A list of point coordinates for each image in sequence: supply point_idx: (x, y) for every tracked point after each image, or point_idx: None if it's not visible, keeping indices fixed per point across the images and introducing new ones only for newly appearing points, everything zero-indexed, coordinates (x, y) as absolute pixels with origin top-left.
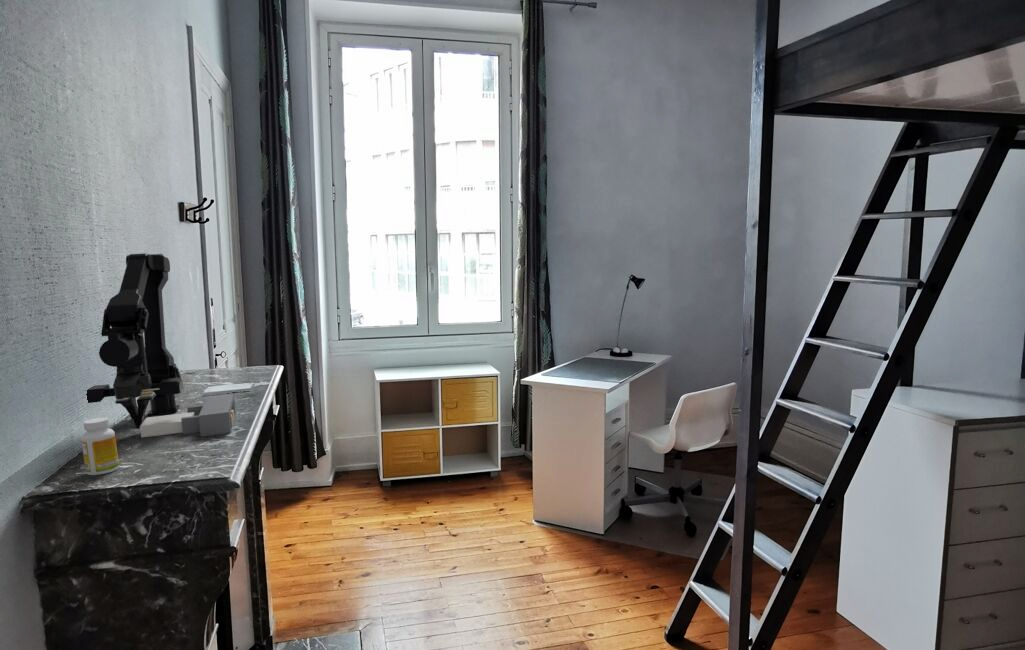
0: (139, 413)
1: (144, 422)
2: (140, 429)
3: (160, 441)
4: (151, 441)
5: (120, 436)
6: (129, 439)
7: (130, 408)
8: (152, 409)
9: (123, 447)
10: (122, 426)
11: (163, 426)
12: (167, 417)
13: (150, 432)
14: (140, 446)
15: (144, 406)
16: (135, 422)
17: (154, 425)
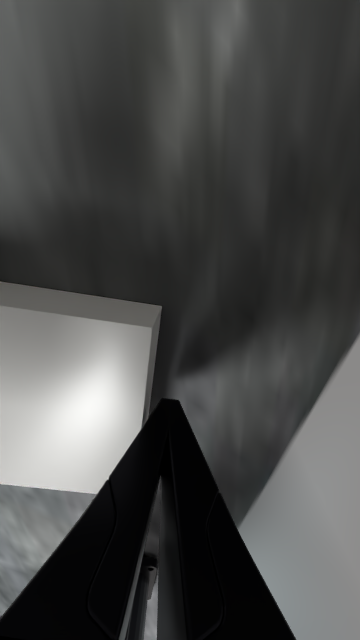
0: (135, 493)
1: (131, 414)
2: (153, 318)
3: (35, 115)
4: (96, 165)
5: (246, 388)
6: (214, 308)
7: (228, 629)
8: (141, 588)
9: (257, 114)
10: (228, 503)
11: (6, 297)
12: (13, 446)
13: (107, 303)
14: (152, 43)
15: (5, 628)
16: (182, 426)
17: (53, 310)
